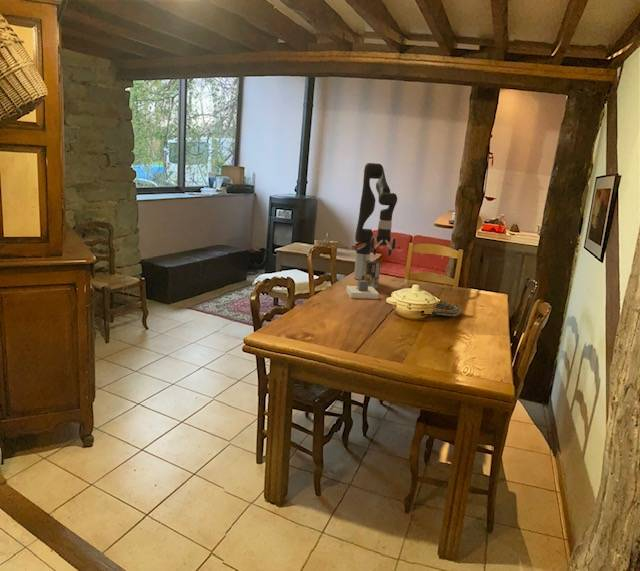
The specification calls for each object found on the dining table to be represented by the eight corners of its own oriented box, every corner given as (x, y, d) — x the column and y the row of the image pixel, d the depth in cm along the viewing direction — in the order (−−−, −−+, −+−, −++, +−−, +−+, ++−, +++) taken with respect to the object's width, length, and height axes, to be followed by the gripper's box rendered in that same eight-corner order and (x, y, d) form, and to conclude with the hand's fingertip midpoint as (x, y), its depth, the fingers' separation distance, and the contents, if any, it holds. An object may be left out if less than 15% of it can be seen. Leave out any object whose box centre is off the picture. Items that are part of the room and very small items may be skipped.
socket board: (345, 290, 287) (346, 285, 286) (372, 291, 289) (372, 286, 288) (350, 297, 271) (351, 292, 270) (378, 298, 273) (378, 293, 273)
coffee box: (378, 287, 300) (381, 262, 296) (373, 289, 294) (376, 263, 291) (365, 284, 304) (367, 259, 301) (360, 286, 299) (363, 261, 295)
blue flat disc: (438, 303, 274) (439, 295, 273) (478, 318, 253) (480, 309, 252) (403, 309, 258) (404, 300, 256) (443, 325, 236) (444, 315, 235)
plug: (356, 292, 282) (357, 279, 280) (365, 293, 283) (366, 280, 281) (358, 295, 277) (359, 281, 275) (367, 295, 278) (368, 282, 276)
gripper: (395, 227, 283) (392, 254, 287) (371, 226, 281) (368, 253, 285) (398, 229, 275) (395, 257, 280) (373, 228, 274) (371, 255, 278)
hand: (381, 255), depth 282 cm, fingers open, 8 cm apart
